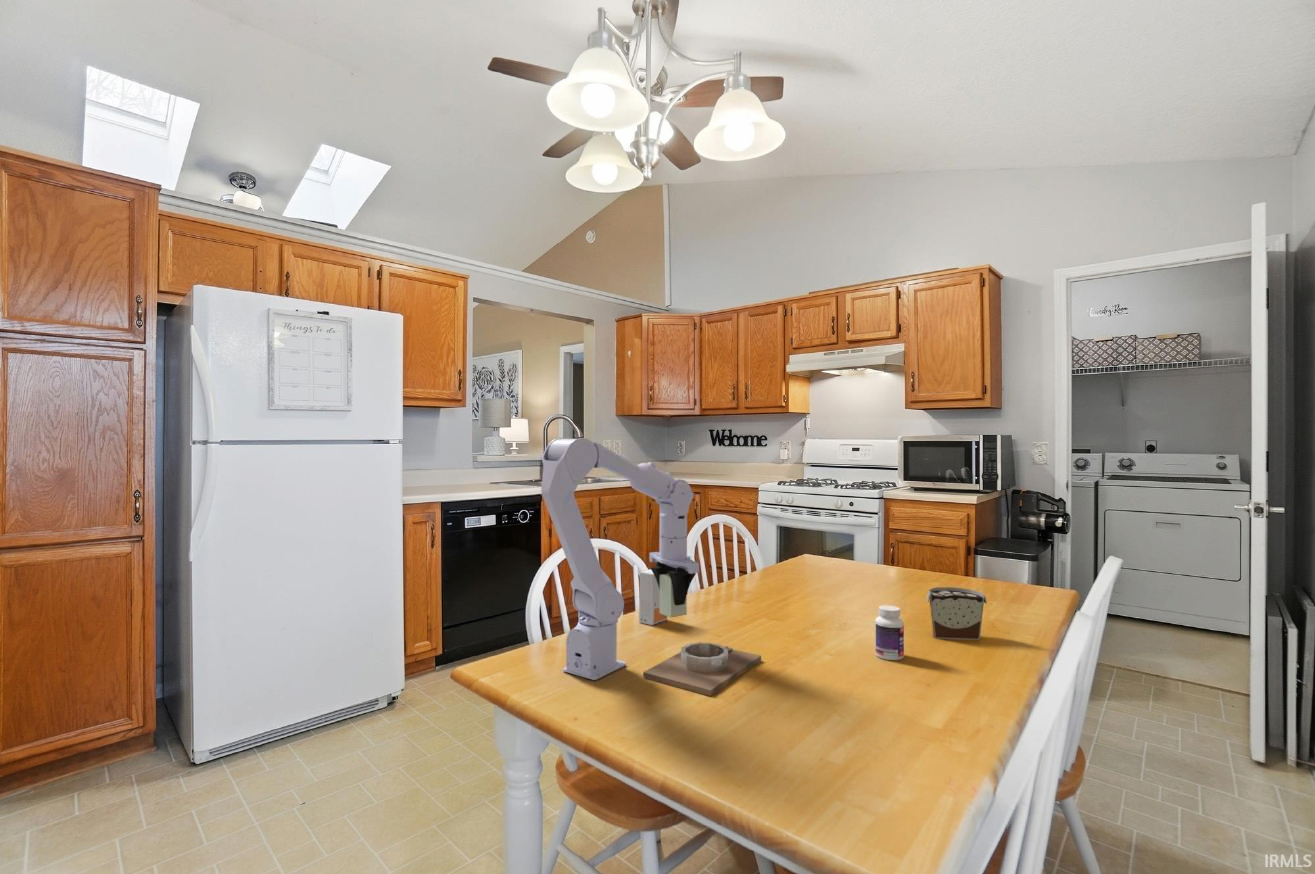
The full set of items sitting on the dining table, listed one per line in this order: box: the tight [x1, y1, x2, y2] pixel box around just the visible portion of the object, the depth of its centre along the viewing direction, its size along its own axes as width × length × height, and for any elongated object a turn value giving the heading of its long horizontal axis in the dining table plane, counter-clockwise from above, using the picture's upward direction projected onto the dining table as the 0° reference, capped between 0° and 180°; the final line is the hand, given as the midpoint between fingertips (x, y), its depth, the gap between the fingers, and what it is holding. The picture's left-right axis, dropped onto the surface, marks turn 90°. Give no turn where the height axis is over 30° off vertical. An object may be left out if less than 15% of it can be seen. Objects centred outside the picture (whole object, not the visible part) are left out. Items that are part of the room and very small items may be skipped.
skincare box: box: [638, 569, 668, 626], centre depth 145 cm, size 6×4×12 cm
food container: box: [926, 586, 987, 641], centre depth 135 cm, size 12×6×10 cm, turn 84°
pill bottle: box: [874, 604, 905, 661], centre depth 122 cm, size 5×5×10 cm
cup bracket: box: [642, 641, 762, 697], centre depth 115 cm, size 20×14×4 cm
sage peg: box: [660, 573, 688, 619], centre depth 126 cm, size 4×4×8 cm
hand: (673, 602), depth 126 cm, fingers closed on sage peg, 4 cm apart
